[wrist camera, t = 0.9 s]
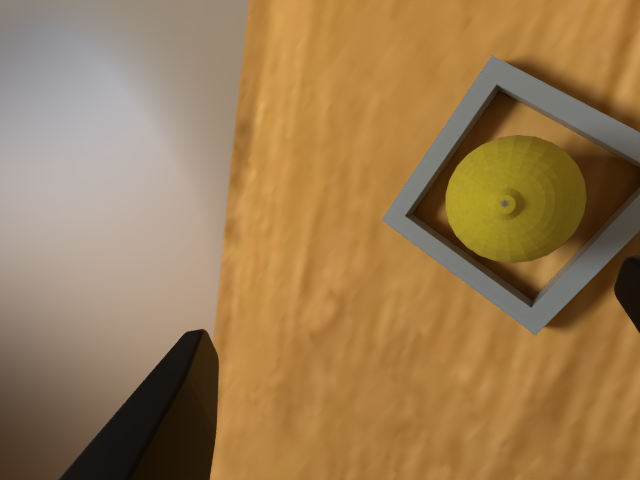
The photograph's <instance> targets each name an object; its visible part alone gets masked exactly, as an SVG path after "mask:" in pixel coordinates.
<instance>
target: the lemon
mask: <svg viewBox="0 0 640 480" xmlns="http://www.w3.org/2000/svg"><path fill="white" fill-rule="evenodd" d="M586 200H587V196H586V186H585V180H584V178H583V176H582V173H581V171H580V169H579V166H578V165H577V164H576V163H575V161H574V160H573V159H572V158H571V157H570V156H569V154H568V153H567V152H565V151H564V150H562V149H561V148H559V147H558V146H556V145H555V144H553V143H552V142H549V141H546V140H543V139H540V138H537V137H532V136H520V135H516V136H509V137H502V138H498V139H495V140H492V141H490V142H487V143H485V144H482V145H481V146H479V147H478V148H476V149H475V150H473V151H472V152H470V153H469V154H468V155H467V156H466V157H465V158H464V159H463V160H462V161H461V162H460V164H459V165H458V166H457V167H456V169H455V171H454V173H453V175H452V176H451V178H450V180H449V184H448V188H447V192H446V213H447V217H448V221H449V224H450V226H451V227H452V229H453V231H454V233H455V235H456V236H457V237H458V238H459V239H460V241H461V242H462V243H463V244H464V245H465V246H466V247H467V248H469V249H470V250H472V251H474V252H475V253H477V254H478V255H480V256H482V257H485V258H488V259H491V260H494V261H499V262H509V263H517V262H526V261H532V260H535V259H538V258H540V257H543V256H546V255H548V254H550V253H551V252H553V251H554V250H556V249H557V248H559V247H560V246H562V245H563V244H564V243H565V242H566V241H567V240H568V239H569V238H570V237H571V236H572V235H573V233H574V232H575V231H576V229H577V227H578V225H579V223H580V222H581V220H582V218H583V216H584V211H585V205H586Z"/></svg>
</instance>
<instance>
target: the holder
mask: <svg viewBox="0 0 640 480" xmlns="http://www.w3.org/2000/svg"><path fill="white" fill-rule="evenodd" d="M498 91H501V92H503V93H505V94H507V95H509V96H510V97H512V98H514V99H516V100H518V101H519V102H521V103H523V104H525V105H527V106H529V107H530V108H532V109H534V110H536V111H538V112H539V113H541V114H543V115H545V116H547V117H549V118H550V119H552V120H554V121H556V122H558V123H559V124H561V125H563V126H565V127H567V128H569V129H570V130H572V131H574V132H576V133H578V134H579V135H581V136H583V137H585V138H587V139H589V140H590V141H592V142H594V143H596V144H598V145H599V146H601V147H603V148H605V149H607V150H609V151H610V152H612V153H614V154H616V155H618V156H619V157H621V158H623V159H625V160H627V161H629V162H630V163H632V164H634V165H636V166H638V167H639V168H640V132H638V131H636V130H634V129H632V128H630V127H628V126H626V125H625V124H623V123H621V122H619V121H617V120H615V119H613V118H611V117H609V116H607V115H605V114H603V113H602V112H600V111H598V110H596V109H594V108H592V107H590V106H588V105H586V104H584V103H582V102H580V101H579V100H577V99H575V98H573V97H571V96H569V95H567V94H565V93H563V92H561V91H559V90H557V89H556V88H554V87H552V86H550V85H548V84H546V83H544V82H542V81H540V80H538V79H536V78H534V77H533V76H531V75H529V74H527V73H525V72H523V71H521V70H519V69H517V68H515V67H513V66H511V65H509V64H508V63H506V62H504V61H502V60H500V59H498V58H496V57H494V56H491V58H490V59H489V61H488V62H487V64H486V65H485V67H484V68H483V70H482V71H481V72H480V74H479V75H478V77H477V78H476V80H475V81H474V83H473V84H472V86H471V87H470V89H469V90H468V92H467V93H466V95H465V96H464V98H463V99H462V101H461V102H460V104H459V105H458V107H457V108H456V110H455V111H454V113H453V114H452V116H451V117H450V119H449V120H448V122H447V123H446V125H445V126H444V128H443V129H442V131H441V132H440V134H439V135H438V137H437V138H436V140H435V141H434V143H433V144H432V146H431V147H430V149H429V150H428V151H427V153H426V154H425V156H424V157H423V159H422V160H421V162H420V163H419V165H418V166H417V168H416V169H415V171H414V172H413V174H412V175H411V177H410V178H409V180H408V181H407V183H406V184H405V186H404V187H403V189H402V190H401V192H400V193H399V195H398V196H397V198H396V199H395V201H394V202H393V204H392V205H391V207H390V208H389V210H388V211H387V213H386V214H385V216H384V217H383V219H382V220H383V221H384V222H385V223H387V224H388V225H389V226H391V227H392V228H393V229H395V230H396V231H397V232H399V233H400V234H401V235H403V236H404V237H405V238H407V239H408V240H409V241H411V242H412V243H413V244H415V245H416V246H417V247H419V248H420V249H421V250H423V251H424V252H425V253H427V254H428V255H429V256H431V257H432V258H433V259H435V260H436V261H437V262H439V263H440V264H441V265H443V266H444V267H445V268H447V269H448V270H449V271H451V272H452V273H453V274H455V275H456V276H457V277H459V278H460V279H461V280H463V281H464V282H465V283H467V284H468V285H469V286H471V287H472V288H473V289H475V290H476V291H477V292H479V293H480V294H481V295H483V296H484V297H485V298H487V299H488V300H489V301H491V302H492V303H493V304H495V305H496V306H497V307H499V308H500V309H501V310H503V311H504V312H505V313H507V314H508V315H509V316H511V317H512V318H513V319H515V320H516V321H517V322H519V323H520V324H521V325H523V326H524V327H525V328H527V329H528V330H529V331H531V332H532V333H533V334H535V335H536V334H537V333H538V332H539V331H540V330H541V329H542V328H543V327H544V326H545V325H546V324H547V323H548V322H549V321H550V320H551V319H552V318H553V317H554V316H555V315H556V314H557V313H558V312H559V311H560V310H561V309H562V308H563V307H564V306H565V305H566V304H567V303H568V302H569V301H570V300H571V299H572V298H573V297H574V296H575V295H576V294H577V293H578V292H579V291H580V290H581V289H582V288H583V287H584V286H585V285H586V284H587V283H588V282H589V281H590V280H591V279H592V278H593V277H594V276H595V275H596V274H597V273H598V272H599V271H600V270H601V269H602V268H603V267H604V266H605V265H606V264H607V263H608V262H609V261H610V260H611V259H612V258H613V257H614V256H615V255H616V254H617V253H618V252H619V251H620V250H621V249H622V248H623V247H624V246H625V245H626V244H627V243H628V242H629V241H630V240H631V239H632V238H633V237H634V236H635V235H636V234H637V233H638V232H639V231H640V186H639V187H638V188H637V189H636V190H635V192H634V193H633V194H632V195H631V196H630V197H629V198H628V199H627V200H626V201H625V202H624V203H623V204H622V205H621V206H620V207H619V208H618V210H617V211H616V212H615V213H614V214H613V215H612V216H611V217H610V218H609V219H608V220H607V221H606V222H605V223H604V224H603V225H602V226H601V228H600V229H599V230H598V231H597V232H596V233H595V234H594V235H593V236H592V237H591V238H590V239H589V240H588V241H587V242H586V243H585V244H584V246H583V247H582V248H581V249H580V250H579V251H578V252H577V253H576V254H575V255H574V256H573V257H572V258H571V259H570V260H569V261H568V262H567V264H566V265H565V266H564V267H563V268H562V269H561V270H560V271H559V272H558V273H557V274H556V275H555V276H554V277H553V278H552V279H551V280H550V282H549V283H548V284H547V285H546V286H545V287H544V288H543V289H542V290H541V291H540V292H539V293H538V294H537V295H536V296H535V297H534V298H533V300H531V299H529V298H528V297H527V296H525V295H524V294H522V293H521V292H520V291H518V290H517V289H515V288H514V287H513V286H511V285H510V284H508V283H507V282H506V281H504V280H503V279H502V278H500V277H499V276H497V275H496V274H495V273H493V272H492V271H490V270H489V269H488V268H486V267H485V266H484V265H482V264H481V263H479V262H478V261H477V260H475V259H474V258H472V257H471V256H470V255H468V254H467V253H465V252H464V251H463V250H461V249H460V248H459V247H457V246H456V245H454V244H453V243H452V242H450V241H449V240H447V239H446V238H445V237H443V236H442V235H441V234H439V233H438V232H436V231H435V230H434V229H432V228H431V227H429V226H428V225H427V224H425V223H424V222H422V221H421V220H420V219H418V218H417V217H416V216H414V215H413V212H414V211H415V209H416V208H417V206H418V205H419V204H420V202H421V201H422V199H423V198H424V196H425V195H426V194H427V192H428V191H429V189H430V188H431V187H432V185H433V184H434V182H435V181H436V179H437V178H438V177H439V175H440V174H441V172H442V171H443V169H444V168H445V167H446V165H447V164H448V162H449V161H450V159H451V158H452V157H453V155H454V154H455V152H456V151H457V150H458V148H459V147H460V145H461V144H462V142H463V141H464V140H465V138H466V137H467V135H468V134H469V132H470V131H471V130H472V128H473V127H474V125H475V124H476V123H477V121H478V120H479V118H480V117H481V115H482V114H483V113H484V111H485V110H486V108H487V107H488V105H489V104H490V103H491V101H492V100H493V98H494V97H495V95H496V94H497V93H498Z"/></svg>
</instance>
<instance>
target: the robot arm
mask: <svg viewBox="0 0 640 480" xmlns="http://www.w3.org/2000/svg"><path fill="white" fill-rule="evenodd" d="M614 292H615V295H616V298H617V299H618V301H619V302H620V304H621V305H622V307H623V309H624V310H625V312H626V313H627V315H628V316H629V318H630V319H631V321H632V322H633V324H634V325H635V327H636V328H637V330H638V331H639V333H640V255H635V256H629V257H626V258H625V259H624V260H623V261H622V263H621V266H620V270H619V273H618V276H617V279H616V282H615V285H614ZM218 374H219V360H218V355H217V352H216V350H215V348H214V345H213V343H212V341H211V339H210V337H209V334H208V333H207V331H206V330H204V329H200V330H194V331H188V332H186V333H185V334H184V335H183V336H182V337H181V338H180V339H179V341H178V342H177V343H176V344H175V345H174V346H173V347H172V348H171V350H170V351H169V352H168V353H167V354H166V355H165V357H164V358H163V359H162V360H161V361H160V363H159V364H158V365H157V366H156V367H155V368H154V369H153V371H152V372H151V373H150V374H149V375H148V376H147V378H146V379H145V380H144V381H143V382H142V383H141V384H140V386H139V387H138V388H137V389H136V390H135V391H134V393H133V394H132V395H131V396H130V397H129V398H128V400H127V401H126V402H125V403H124V404H123V405H122V407H121V408H120V409H119V410H118V411H117V412H116V413H115V415H114V416H113V417H112V418H111V419H110V420H109V422H108V423H107V424H106V425H105V426H104V427H103V428H102V430H101V431H100V432H99V433H98V434H97V436H96V437H95V438H94V439H93V440H92V441H91V443H90V444H89V445H88V446H87V447H86V448H85V450H84V451H83V452H82V453H81V454H80V455H79V456H78V458H77V459H76V460H75V461H74V462H73V463H72V464H71V466H70V467H69V468H68V469H67V470H66V471H65V473H64V474H63V475H62V476H61V477H60V478H59V479H58V480H210V473H211V466H212V459H213V453H214V446H215V438H216V427H217V403H218Z"/></svg>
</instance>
